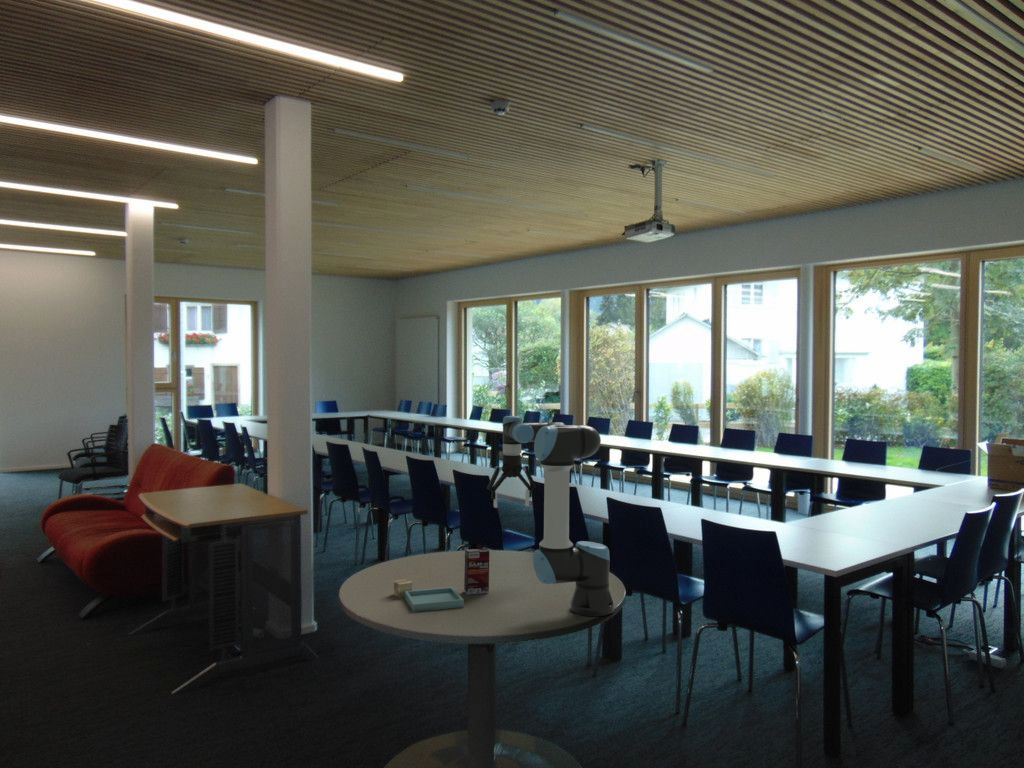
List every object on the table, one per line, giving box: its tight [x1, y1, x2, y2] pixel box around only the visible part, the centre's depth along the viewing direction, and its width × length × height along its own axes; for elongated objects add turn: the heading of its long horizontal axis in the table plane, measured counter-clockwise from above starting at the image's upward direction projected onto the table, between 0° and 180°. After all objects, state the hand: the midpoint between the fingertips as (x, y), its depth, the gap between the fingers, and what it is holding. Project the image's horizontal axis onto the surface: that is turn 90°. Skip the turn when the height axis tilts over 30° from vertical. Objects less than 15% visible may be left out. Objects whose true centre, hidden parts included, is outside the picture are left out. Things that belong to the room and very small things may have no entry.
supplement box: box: [463, 548, 490, 596], centre depth 280 cm, size 9×5×16 cm, turn 108°
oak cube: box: [393, 578, 413, 599], centre depth 276 cm, size 5×5×5 cm
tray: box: [404, 586, 465, 613], centre depth 268 cm, size 16×18×2 cm
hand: (511, 506), depth 303 cm, fingers open, 13 cm apart
